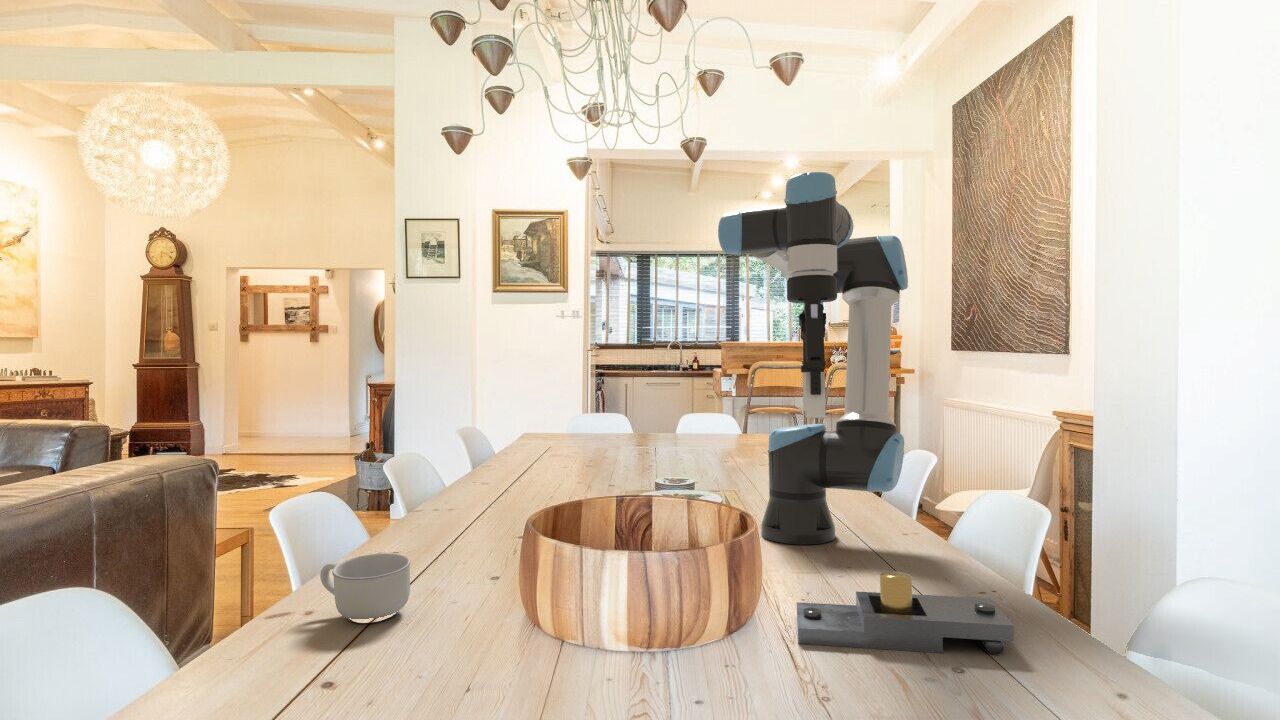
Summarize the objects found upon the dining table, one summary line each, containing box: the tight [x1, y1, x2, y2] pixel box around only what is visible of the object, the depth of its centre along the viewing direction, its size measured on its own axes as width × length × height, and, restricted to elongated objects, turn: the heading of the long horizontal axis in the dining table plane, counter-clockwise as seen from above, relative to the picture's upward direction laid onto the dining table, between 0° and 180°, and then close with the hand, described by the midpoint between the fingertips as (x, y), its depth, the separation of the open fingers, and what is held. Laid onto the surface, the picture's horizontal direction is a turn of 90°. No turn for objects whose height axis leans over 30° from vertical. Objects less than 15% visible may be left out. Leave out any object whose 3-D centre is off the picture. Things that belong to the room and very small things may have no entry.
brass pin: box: [879, 570, 913, 615], centre depth 94 cm, size 4×4×8 cm
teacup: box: [319, 552, 411, 619], centre depth 105 cm, size 14×11×8 cm
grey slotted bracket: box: [796, 591, 1015, 656], centre depth 94 cm, size 10×26×5 cm, turn 78°
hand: (813, 414), depth 108 cm, fingers open, 13 cm apart
